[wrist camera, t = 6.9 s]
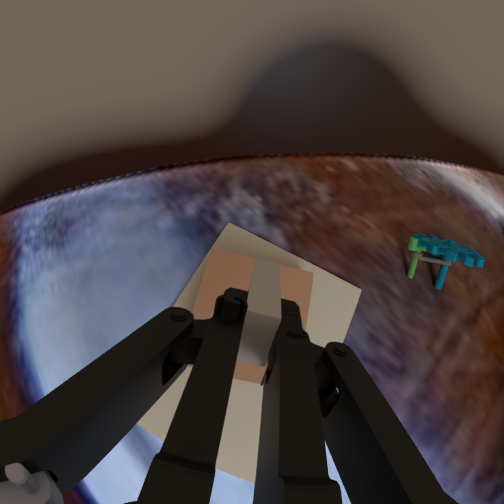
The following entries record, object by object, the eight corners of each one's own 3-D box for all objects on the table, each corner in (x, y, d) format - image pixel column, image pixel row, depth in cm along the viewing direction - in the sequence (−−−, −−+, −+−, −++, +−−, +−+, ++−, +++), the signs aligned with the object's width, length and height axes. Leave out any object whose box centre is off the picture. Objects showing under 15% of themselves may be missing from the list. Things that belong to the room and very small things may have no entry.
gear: (460, 237, 29) (501, 259, 20) (449, 277, 31) (484, 309, 21) (395, 222, 30) (429, 242, 21) (384, 266, 32) (411, 300, 23)
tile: (294, 389, 19) (313, 272, 23) (177, 363, 19) (211, 248, 23) (287, 388, 21) (306, 282, 25) (182, 364, 21) (212, 259, 25)
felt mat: (359, 291, 26) (361, 289, 26) (267, 486, 17) (267, 487, 16) (228, 224, 28) (228, 222, 27) (114, 406, 19) (112, 406, 18)
